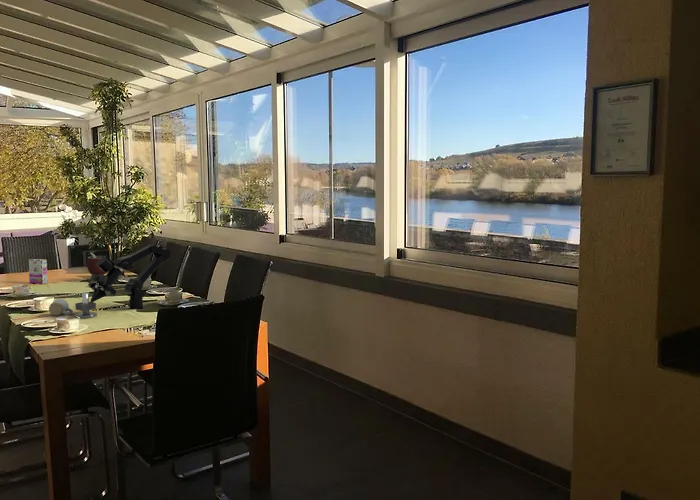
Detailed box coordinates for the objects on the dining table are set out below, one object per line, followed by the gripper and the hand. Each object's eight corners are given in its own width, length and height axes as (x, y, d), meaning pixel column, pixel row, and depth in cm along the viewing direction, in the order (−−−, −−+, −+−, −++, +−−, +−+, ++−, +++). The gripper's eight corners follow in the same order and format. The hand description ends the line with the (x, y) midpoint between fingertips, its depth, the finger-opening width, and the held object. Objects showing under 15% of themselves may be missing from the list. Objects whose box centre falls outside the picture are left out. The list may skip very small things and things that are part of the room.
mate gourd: (113, 281, 418) (112, 252, 416) (96, 283, 406) (95, 254, 404) (99, 279, 426) (98, 251, 424) (82, 281, 415) (81, 252, 413)
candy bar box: (48, 283, 407) (47, 259, 405) (42, 284, 402) (41, 260, 400) (35, 282, 410) (34, 258, 408) (29, 283, 405) (28, 259, 404)
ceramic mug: (48, 316, 300) (47, 301, 299) (53, 313, 308) (53, 298, 307) (70, 316, 302) (70, 301, 301) (75, 313, 310) (74, 298, 309)
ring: (88, 307, 306) (88, 301, 305) (96, 308, 301) (95, 303, 301) (75, 309, 300) (75, 303, 300) (82, 311, 296) (82, 305, 296)
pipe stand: (90, 313, 308) (89, 290, 307) (100, 315, 302) (99, 292, 301) (71, 316, 300) (70, 292, 299) (81, 319, 294) (80, 295, 293)
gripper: (90, 266, 311) (70, 290, 304) (109, 269, 300) (89, 294, 292) (105, 279, 318) (86, 303, 310) (124, 283, 306) (105, 307, 299)
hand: (91, 301), depth 303 cm, fingers closed, pressing on ring
